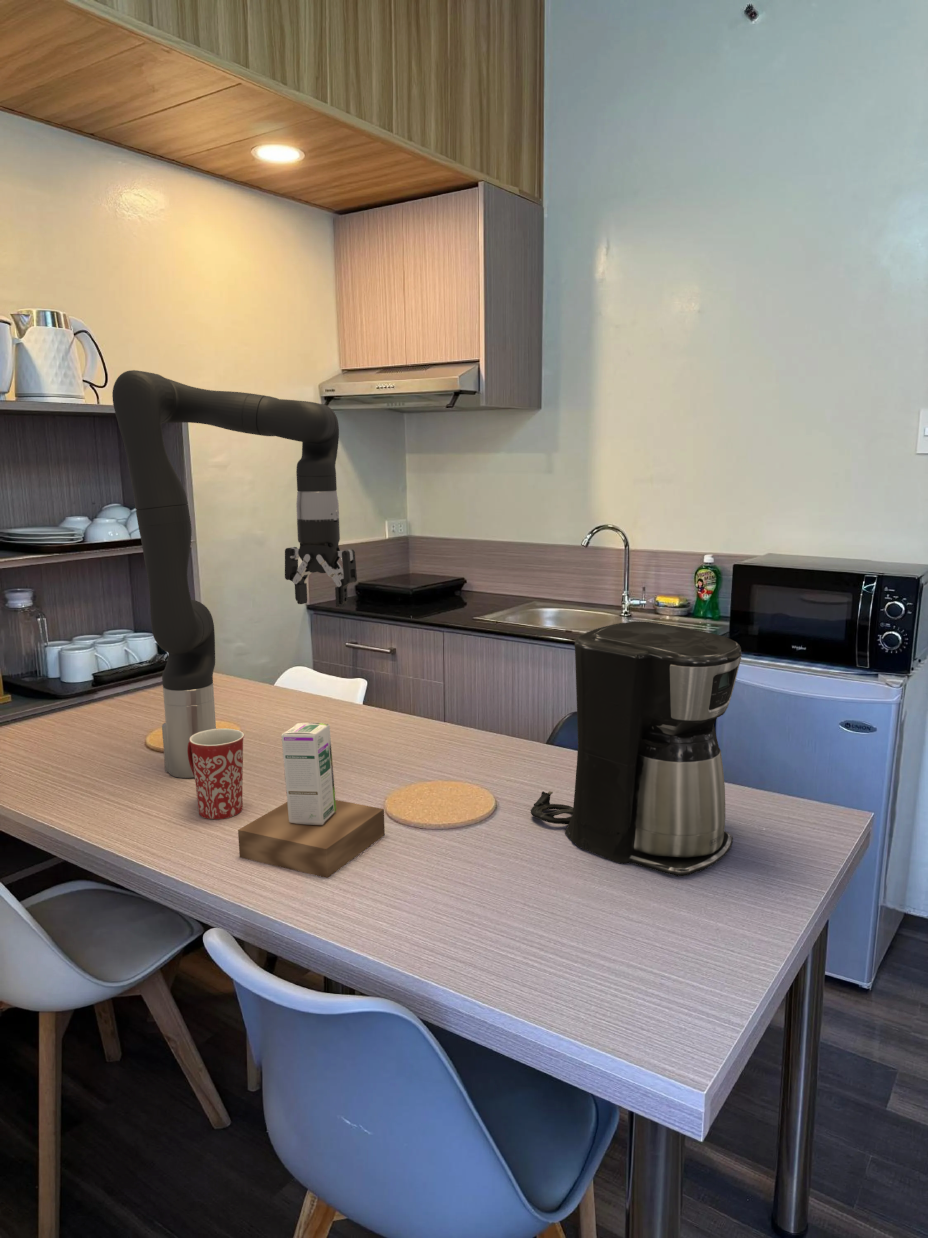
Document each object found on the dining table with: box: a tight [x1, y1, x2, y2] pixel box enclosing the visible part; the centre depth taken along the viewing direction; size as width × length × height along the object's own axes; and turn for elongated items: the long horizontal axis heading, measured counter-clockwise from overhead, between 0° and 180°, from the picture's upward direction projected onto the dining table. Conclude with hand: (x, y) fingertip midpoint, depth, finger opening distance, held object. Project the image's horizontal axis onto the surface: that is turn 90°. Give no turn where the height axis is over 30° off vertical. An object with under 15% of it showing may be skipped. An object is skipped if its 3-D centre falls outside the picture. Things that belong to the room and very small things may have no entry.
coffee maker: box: [530, 620, 742, 877], centre depth 133 cm, size 23×32×34 cm
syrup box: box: [281, 722, 336, 825], centre depth 133 cm, size 6×6×14 cm
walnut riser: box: [237, 799, 385, 879], centre depth 135 cm, size 16×16×5 cm
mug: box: [187, 728, 245, 820], centre depth 149 cm, size 13×9×14 cm
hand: (321, 605), depth 159 cm, fingers open, 8 cm apart
